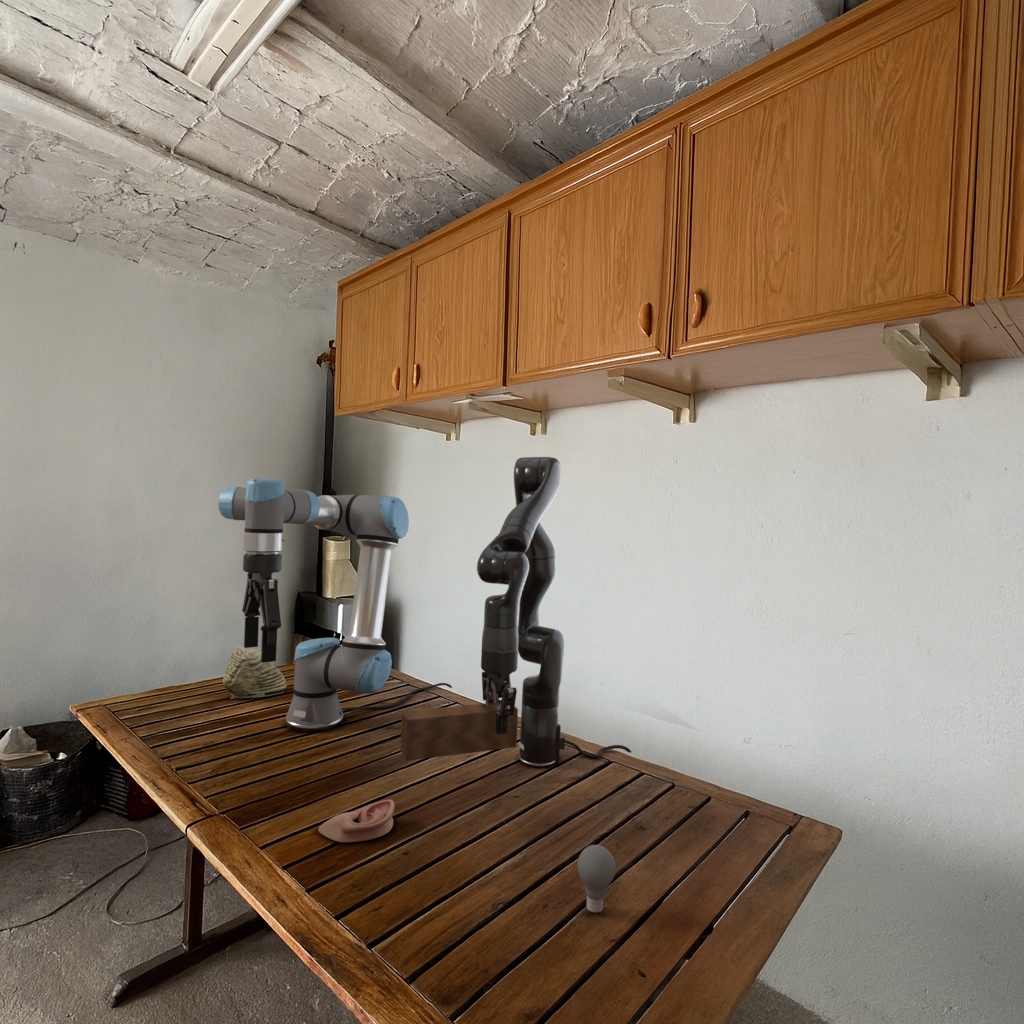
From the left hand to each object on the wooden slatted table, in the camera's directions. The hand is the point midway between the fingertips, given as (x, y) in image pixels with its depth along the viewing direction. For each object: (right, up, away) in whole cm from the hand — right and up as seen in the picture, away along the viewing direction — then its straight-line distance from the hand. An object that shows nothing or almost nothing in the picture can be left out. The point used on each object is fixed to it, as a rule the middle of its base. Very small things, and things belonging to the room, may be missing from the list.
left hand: (259, 654), depth 132 cm
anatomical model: (+23, -31, -11) cm, 40 cm away
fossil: (-28, -28, +66) cm, 76 cm away
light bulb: (+66, -33, -32) cm, 81 cm away
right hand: (+50, -15, -2) cm, 52 cm away
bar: (+42, -18, -5) cm, 46 cm away
